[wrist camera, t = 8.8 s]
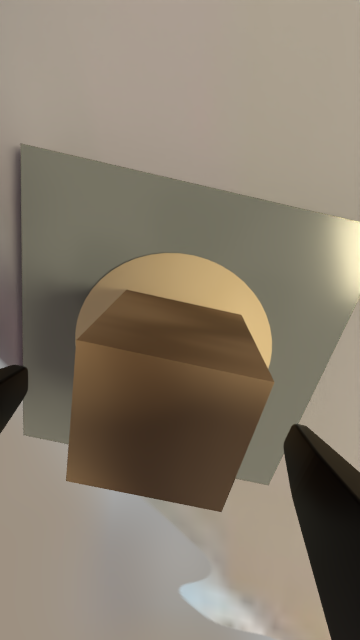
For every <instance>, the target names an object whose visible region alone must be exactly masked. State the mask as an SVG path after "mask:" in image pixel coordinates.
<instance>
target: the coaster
mask: <svg viewBox="0 0 360 640" xmlns="http://www.w3.org/2000/svg"><path fill="white" fill-rule="evenodd" d="M21 236H22V333H23V366H24V367H26V368H27V369H28V391H27V394H26V396H25V397H24V399H23V425H24V428H23V430H24V435H26V436H31V437H36V438H40V439H46V440H50V441H55V442H60V443H65V444H69V434H70V420H71V407H72V393H73V379H74V365H75V352H76V340H77V339H78V338H79V337H80V336H81V335H82V334H83V333H84V332H85V331H86V330H87V329H88V328H89V327H90V326H91V325H92V324H93V323H94V322H95V321H96V320H97V319H98V318H99V317H100V316H101V315H102V314H103V313H104V312H105V311H106V310H107V309H108V308H109V307H110V306H111V305H112V304H113V303H114V302H115V301H116V300H117V299H118V298H119V297H120V296H121V295H122V294H123V293H124V292H125V291H126V290H131V291H136V292H140V293H145V294H149V295H154V296H158V297H163V298H167V299H172V300H176V301H181V302H186V303H190V304H195V305H199V306H204V307H208V308H213V309H217V310H222V311H227V312H231V313H236V314H240V315H242V317H243V319H244V321H245V323H246V325H247V327H248V329H249V331H250V333H251V335H252V337H253V339H254V341H255V343H256V345H257V348H258V350H259V352H260V354H261V356H262V358H263V360H264V362H265V364H266V366H267V368H268V370H269V372H270V374H271V376H272V378H273V380H274V385H273V387H272V390H271V392H270V395H269V397H268V400H267V402H266V404H265V407H264V409H263V412H262V414H261V417H260V419H259V422H258V424H257V426H256V429H255V431H254V434H253V436H252V439H251V441H250V444H249V446H248V448H247V451H246V453H245V456H244V458H243V461H242V463H241V466H240V468H239V470H238V473H237V475H236V478H235V479H240V480H245V481H250V482H255V483H259V484H264V485H269V483H270V481H271V479H272V477H273V475H274V473H275V471H276V469H277V467H278V465H279V463H280V461H281V458H282V456H283V454H284V447H283V446H284V441H285V439H286V436H287V434H288V432H289V430H290V428H291V426H292V425H293V424H298V423H299V421H300V419H301V417H302V415H303V413H304V411H305V409H306V407H307V405H308V403H309V401H310V399H311V397H312V394H313V392H314V390H315V388H316V386H317V384H318V382H319V380H320V378H321V376H322V374H323V372H324V370H325V368H326V366H327V363H328V361H329V359H330V357H331V355H332V353H333V351H334V349H335V347H336V345H337V343H338V341H339V339H340V337H341V335H342V332H343V330H344V328H345V326H346V324H347V322H348V320H349V318H350V316H351V314H352V312H353V310H354V308H355V306H356V304H357V301H358V299H359V297H360V222H357V221H353V220H348V219H344V218H340V217H336V216H331V215H327V214H323V213H318V212H314V211H310V210H305V209H301V208H297V207H292V206H288V205H284V204H279V203H275V202H271V201H267V200H262V199H258V198H254V197H249V196H245V195H241V194H236V193H232V192H228V191H223V190H219V189H215V188H211V187H206V186H202V185H198V184H193V183H189V182H185V181H180V180H176V179H172V178H167V177H163V176H159V175H154V174H150V173H146V172H142V171H137V170H133V169H129V168H124V167H120V166H116V165H111V164H107V163H103V162H98V161H94V160H90V159H85V158H81V157H77V156H73V155H68V154H64V153H60V152H55V151H51V150H47V149H42V148H38V147H34V146H29V145H25V144H21Z"/></svg>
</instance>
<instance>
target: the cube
mask: <svg viewBox="0 0 360 640" xmlns="http://www.w3.org/2000/svg"><path fill="white" fill-rule="evenodd" d="M273 385H274V380H273V378H272V376H271V374H270V372H269V370H268V368H267V366H266V364H265V362H264V360H263V358H262V356H261V354H260V352H259V350H258V348H257V345H256V343H255V341H254V339H253V337H252V335H251V333H250V331H249V329H248V327H247V325H246V323H245V321H244V319H243V317H242V315H240V314H236V313H231V312H227V311H222V310H217V309H213V308H208V307H204V306H199V305H195V304H190V303H186V302H181V301H176V300H172V299H167V298H163V297H158V296H154V295H149V294H145V293H140V292H136V291H131V290H126V291H125V292H124V293H123V294H122V295H121V296H120V297H119V298H118V299H117V300H116V301H115V302H114V303H113V304H112V305H111V306H110V307H109V308H108V309H107V310H106V311H105V312H104V313H103V314H102V315H101V316H100V317H99V318H98V319H97V320H96V321H95V322H94V323H93V324H92V325H91V326H90V327H89V328H88V329H87V330H86V331H85V332H84V333H83V334H82V335H81V336H80V337H79V338H78V339H77V340H76V352H75V365H74V379H73V393H72V407H71V420H70V434H69V448H68V462H67V475H66V481H69V482H74V483H79V484H84V485H89V486H94V487H99V488H104V489H109V490H114V491H119V492H124V493H129V494H134V495H139V496H144V497H149V498H154V499H159V500H164V501H169V502H174V503H179V504H184V505H189V506H194V507H199V508H204V509H209V510H214V511H219V512H222V510H223V507H224V505H225V502H226V500H227V497H228V495H229V492H230V490H231V488H232V485H233V483H234V480H235V478H236V475H237V473H238V470H239V468H240V466H241V463H242V461H243V458H244V456H245V453H246V451H247V448H248V446H249V444H250V441H251V439H252V436H253V434H254V431H255V429H256V426H257V424H258V422H259V419H260V417H261V414H262V412H263V409H264V407H265V404H266V402H267V400H268V397H269V395H270V392H271V390H272V387H273Z"/></svg>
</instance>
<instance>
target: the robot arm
mask: <svg viewBox="0 0 360 640" xmlns="http://www.w3.org/2000/svg"><path fill="white" fill-rule="evenodd" d="M27 391H28V369H27V368H26V367H24V366H19V365H11V366H8V367H5V368H1V369H0V433H1V432H2V430H3V429H4V427H5V426H6V424H7V423H8V421H9V420H10V418H11V417H12V415H13V414H14V412H15V411H16V409H17V407H18V406H19V405H20V403H21V401H22V400H23V399H24V397H25V396H26V394H27ZM283 447H284V454H285V460H286V466H287V471H288V477H289V483H290V489H291V493H292V498H293V502H294V506H295V509H296V513H297V517H298V520H299V524H300V527H301V531H302V535H303V538H304V542H305V546H306V549H307V553H308V556H309V560H310V564H311V567H312V571H313V575H314V578H315V582H316V585H317V589H318V593H319V596H320V600H321V604H322V607H323V611H324V614H325V618H326V622H327V625H328V629H329V633H330V636H331V640H360V472H359V471H358V470H356V469H355V468H354V467H353V466H352V465H351V464H349V463H348V462H347V461H346V460H345V459H344V458H343V457H341V456H340V455H339V454H338V453H337V452H336V451H335V450H333V449H332V448H331V447H330V446H329V445H328V444H326V443H325V442H324V441H323V440H322V439H321V438H320V437H318V436H317V435H316V434H315V433H314V432H313V431H311V430H310V429H309V428H308V427H307V426H304V425H299V424H293V425H292V426H291V428H290V430H289V432H288V434H287V436H286V439H285V441H284V446H283Z"/></svg>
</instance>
